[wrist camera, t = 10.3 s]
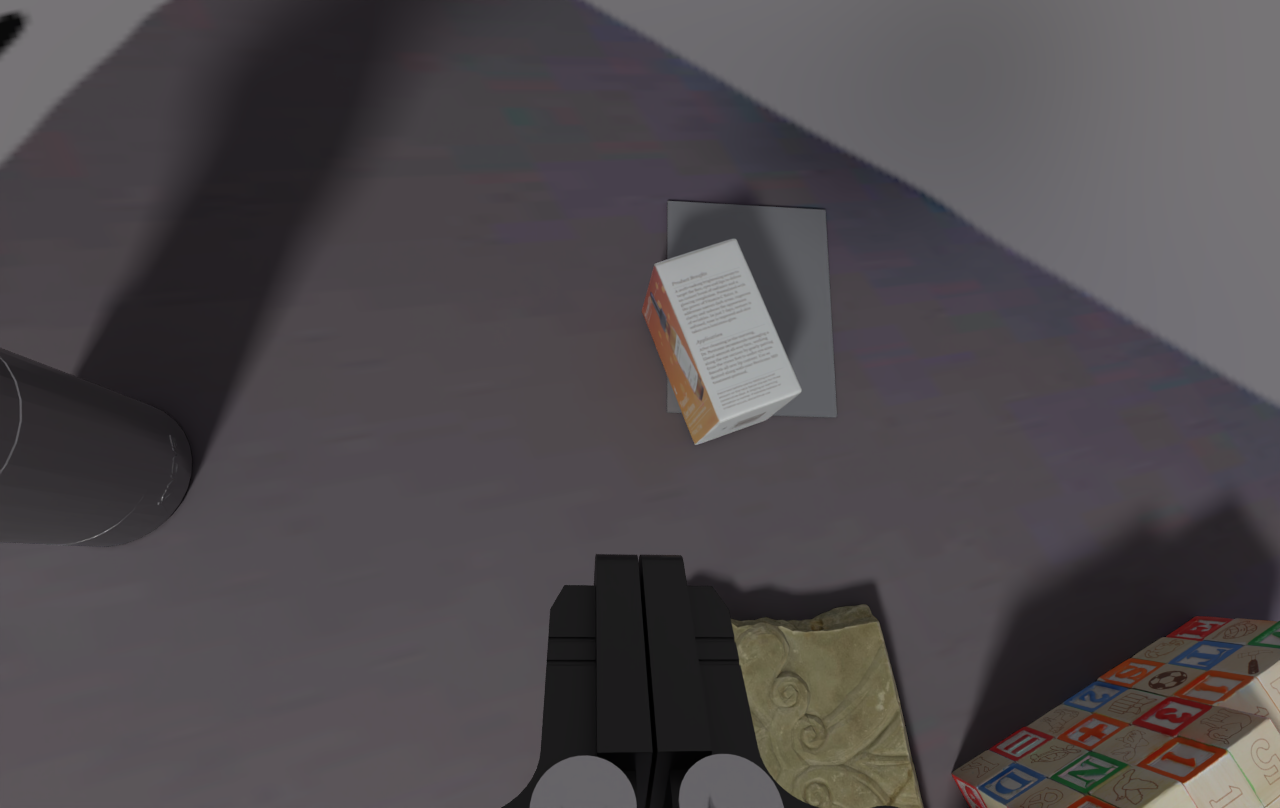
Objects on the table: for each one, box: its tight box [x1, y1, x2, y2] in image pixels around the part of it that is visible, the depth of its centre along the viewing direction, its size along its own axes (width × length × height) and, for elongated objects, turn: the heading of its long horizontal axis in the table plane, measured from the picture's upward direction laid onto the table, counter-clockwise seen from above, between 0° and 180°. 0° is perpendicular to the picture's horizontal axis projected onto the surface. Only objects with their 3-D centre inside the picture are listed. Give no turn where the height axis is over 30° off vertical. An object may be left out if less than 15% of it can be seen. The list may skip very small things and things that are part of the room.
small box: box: [642, 239, 802, 445], centre depth 45 cm, size 8×6×10 cm
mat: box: [667, 201, 837, 418], centre depth 50 cm, size 12×16×1 cm
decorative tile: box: [731, 604, 924, 808], centre depth 42 cm, size 19×20×4 cm
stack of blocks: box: [952, 616, 1280, 808], centre depth 40 cm, size 21×6×12 cm, turn 118°
